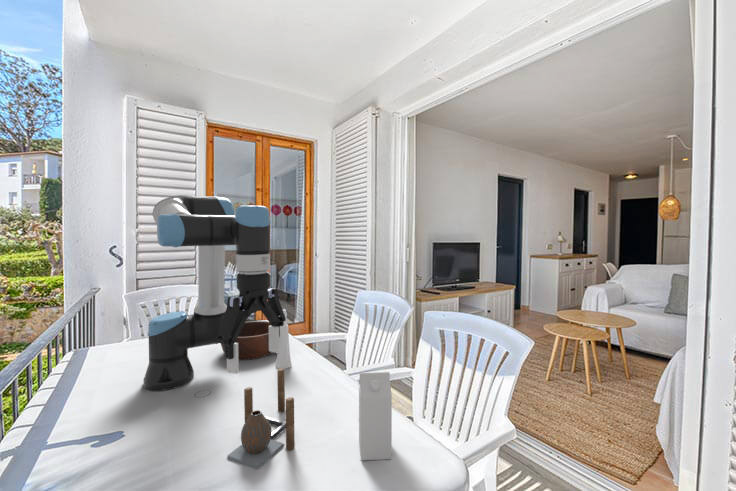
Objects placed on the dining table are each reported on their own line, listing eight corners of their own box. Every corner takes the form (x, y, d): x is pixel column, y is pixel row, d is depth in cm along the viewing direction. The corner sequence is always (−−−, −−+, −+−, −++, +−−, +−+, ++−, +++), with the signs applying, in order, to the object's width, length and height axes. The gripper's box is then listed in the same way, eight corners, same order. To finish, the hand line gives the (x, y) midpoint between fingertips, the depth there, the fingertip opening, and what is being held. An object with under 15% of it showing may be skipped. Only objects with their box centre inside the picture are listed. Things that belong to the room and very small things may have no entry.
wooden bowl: (257, 338, 165) (257, 318, 165) (292, 349, 151) (292, 326, 150) (207, 354, 145) (207, 330, 145) (242, 368, 130) (242, 341, 130)
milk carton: (358, 442, 85) (358, 367, 84) (387, 440, 85) (387, 366, 85) (360, 461, 78) (360, 379, 77) (391, 459, 78) (391, 378, 77)
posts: (243, 435, 87) (242, 389, 87) (280, 407, 101) (280, 368, 100) (291, 451, 81) (290, 402, 81) (324, 419, 95) (324, 377, 94)
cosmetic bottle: (274, 364, 134) (273, 308, 133) (289, 362, 136) (289, 307, 135) (277, 370, 128) (276, 312, 127) (293, 367, 131) (292, 310, 130)
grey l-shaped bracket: (241, 430, 90) (241, 426, 90) (258, 418, 95) (258, 414, 95) (271, 440, 86) (271, 435, 85) (287, 426, 91) (287, 422, 91)
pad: (227, 458, 79) (227, 455, 79) (255, 436, 87) (255, 434, 87) (257, 469, 75) (257, 466, 75) (283, 445, 83) (283, 443, 83)
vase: (276, 441, 84) (276, 406, 84) (262, 460, 77) (262, 422, 77) (251, 438, 85) (250, 404, 85) (235, 456, 79) (234, 419, 78)
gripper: (222, 280, 67) (224, 386, 68) (298, 267, 90) (299, 346, 91) (195, 278, 70) (198, 379, 71) (276, 266, 93) (276, 342, 94)
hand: (255, 361), depth 81 cm, fingers open, 13 cm apart
